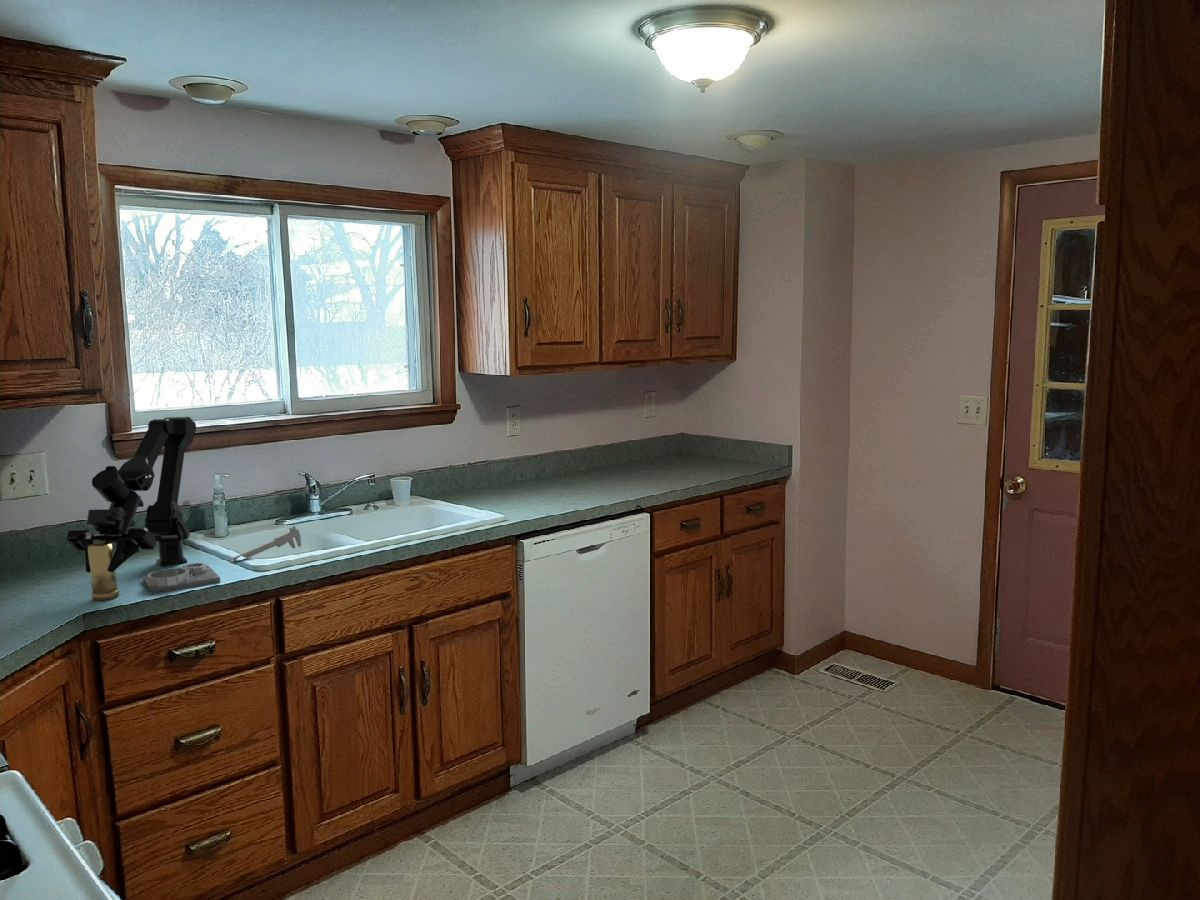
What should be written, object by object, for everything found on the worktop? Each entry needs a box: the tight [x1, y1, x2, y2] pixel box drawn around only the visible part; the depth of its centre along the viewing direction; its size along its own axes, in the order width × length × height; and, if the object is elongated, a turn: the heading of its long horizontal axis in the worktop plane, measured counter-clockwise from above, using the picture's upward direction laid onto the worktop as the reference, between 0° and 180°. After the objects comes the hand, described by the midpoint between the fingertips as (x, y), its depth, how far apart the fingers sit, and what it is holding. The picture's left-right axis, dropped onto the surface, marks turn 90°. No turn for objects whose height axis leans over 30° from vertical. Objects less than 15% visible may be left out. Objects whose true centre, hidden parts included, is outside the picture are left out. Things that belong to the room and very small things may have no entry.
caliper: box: [229, 525, 302, 564], centre depth 244 cm, size 20×1×6 cm, turn 140°
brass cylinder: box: [87, 539, 120, 602], centre depth 209 cm, size 5×5×14 cm
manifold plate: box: [142, 562, 221, 595], centre depth 221 cm, size 13×15×3 cm
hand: (99, 571), depth 207 cm, fingers closed on brass cylinder, 5 cm apart
